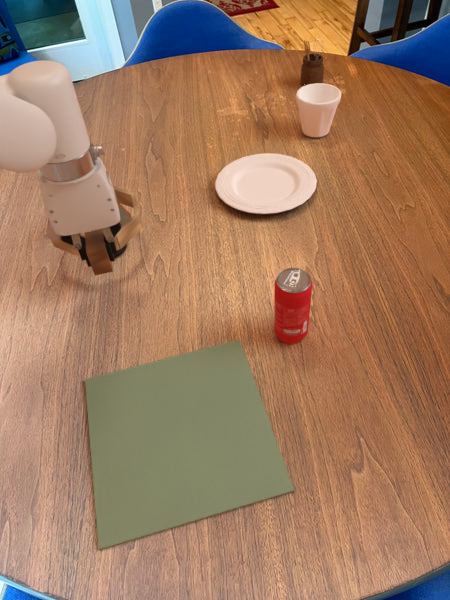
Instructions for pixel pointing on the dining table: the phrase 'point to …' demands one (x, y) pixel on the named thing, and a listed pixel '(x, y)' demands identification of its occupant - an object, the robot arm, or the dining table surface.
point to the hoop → (96, 238)
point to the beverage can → (292, 305)
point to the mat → (179, 443)
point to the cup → (317, 108)
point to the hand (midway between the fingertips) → (100, 257)
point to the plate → (265, 183)
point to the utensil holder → (312, 66)
